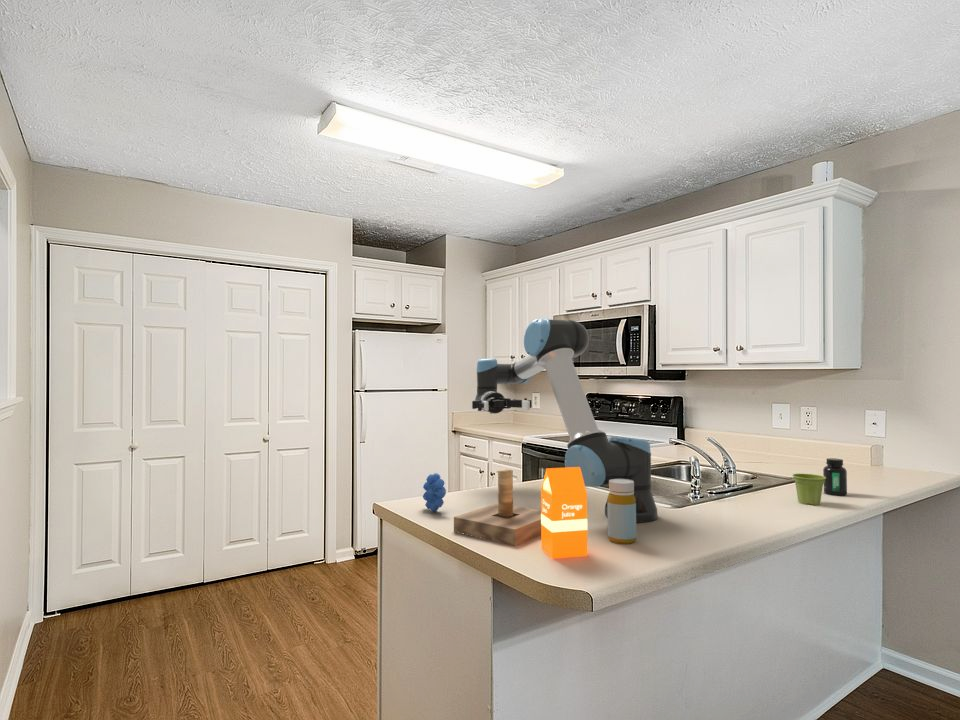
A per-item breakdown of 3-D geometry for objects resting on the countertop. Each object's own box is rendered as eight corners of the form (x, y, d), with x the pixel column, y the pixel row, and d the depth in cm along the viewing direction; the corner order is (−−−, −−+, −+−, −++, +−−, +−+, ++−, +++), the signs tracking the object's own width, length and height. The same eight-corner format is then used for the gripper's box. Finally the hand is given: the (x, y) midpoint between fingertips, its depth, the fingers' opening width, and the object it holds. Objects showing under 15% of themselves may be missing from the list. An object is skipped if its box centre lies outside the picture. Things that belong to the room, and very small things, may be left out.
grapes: (456, 513, 172) (455, 473, 172) (436, 516, 168) (436, 476, 168) (437, 506, 181) (436, 468, 182) (418, 508, 178) (418, 470, 178)
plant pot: (808, 498, 188) (807, 472, 189) (833, 505, 180) (833, 477, 180) (785, 500, 186) (785, 474, 186) (810, 507, 177) (810, 479, 177)
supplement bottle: (840, 497, 191) (839, 461, 191) (819, 493, 196) (819, 458, 197) (851, 494, 194) (850, 459, 194) (830, 491, 200) (829, 457, 200)
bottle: (605, 536, 147) (604, 478, 148) (632, 536, 147) (631, 478, 147) (610, 544, 140) (610, 483, 141) (639, 544, 140) (638, 483, 140)
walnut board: (556, 527, 155) (556, 513, 155) (515, 545, 140) (515, 529, 140) (498, 516, 168) (497, 503, 168) (453, 531, 152) (453, 516, 152)
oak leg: (516, 529, 154) (515, 470, 154) (507, 532, 151) (507, 472, 151) (504, 526, 157) (503, 468, 157) (495, 530, 153) (494, 470, 154)
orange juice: (541, 548, 137) (540, 465, 138) (575, 545, 139) (574, 464, 140) (552, 559, 130) (551, 471, 130) (588, 555, 132) (587, 469, 132)
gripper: (526, 412, 204) (545, 416, 183) (458, 413, 199) (469, 418, 178) (526, 391, 204) (545, 393, 183) (458, 392, 199) (469, 394, 178)
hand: (508, 405), depth 180 cm, fingers open, 13 cm apart
